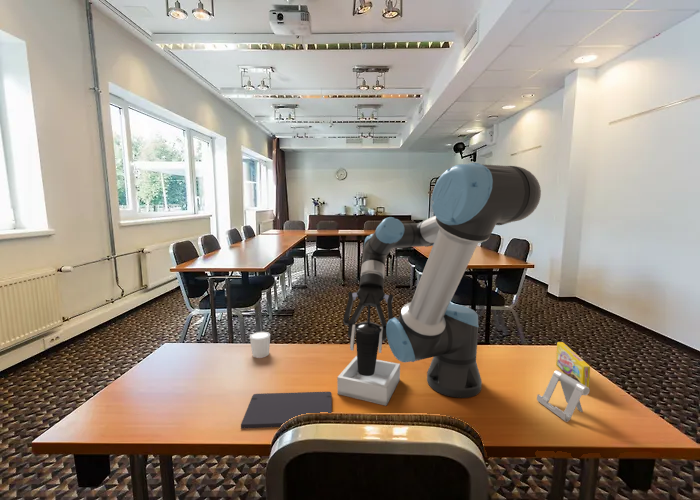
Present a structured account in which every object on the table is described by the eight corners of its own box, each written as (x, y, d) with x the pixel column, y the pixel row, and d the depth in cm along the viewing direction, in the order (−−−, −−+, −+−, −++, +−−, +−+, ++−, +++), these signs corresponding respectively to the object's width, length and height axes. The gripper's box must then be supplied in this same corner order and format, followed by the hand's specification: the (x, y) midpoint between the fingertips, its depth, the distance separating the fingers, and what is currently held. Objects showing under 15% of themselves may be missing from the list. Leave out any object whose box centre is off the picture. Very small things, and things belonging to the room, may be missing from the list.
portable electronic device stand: (536, 402, 89) (538, 372, 88) (560, 397, 91) (563, 369, 90) (563, 422, 81) (567, 390, 79) (590, 417, 82) (593, 386, 81)
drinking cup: (379, 366, 100) (383, 302, 97) (379, 380, 93) (382, 311, 89) (354, 363, 101) (356, 300, 98) (351, 377, 94) (354, 309, 90)
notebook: (240, 430, 79) (331, 427, 80) (240, 424, 78) (331, 421, 79) (253, 399, 91) (331, 396, 92) (253, 393, 91) (331, 391, 92)
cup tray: (399, 379, 100) (400, 363, 99) (386, 405, 87) (386, 387, 86) (356, 370, 105) (356, 355, 105) (337, 394, 92) (337, 377, 92)
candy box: (554, 365, 109) (556, 341, 108) (561, 366, 108) (564, 341, 107) (580, 393, 93) (583, 365, 92) (589, 394, 93) (592, 366, 91)
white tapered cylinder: (246, 357, 114) (246, 338, 113) (256, 349, 121) (255, 330, 120) (265, 359, 113) (265, 339, 112) (274, 350, 120) (273, 332, 118)
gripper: (403, 286, 107) (401, 357, 94) (342, 282, 110) (331, 351, 96) (405, 273, 101) (403, 348, 88) (339, 270, 104) (328, 342, 90)
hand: (365, 349), depth 92 cm, fingers closed on drinking cup, 7 cm apart
